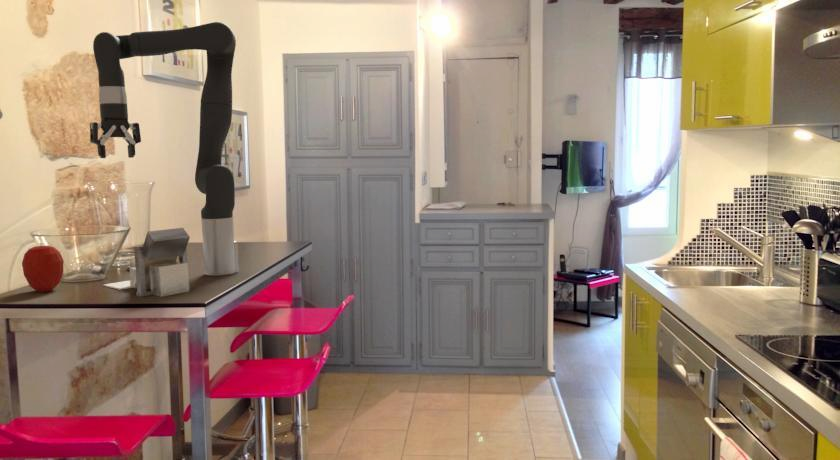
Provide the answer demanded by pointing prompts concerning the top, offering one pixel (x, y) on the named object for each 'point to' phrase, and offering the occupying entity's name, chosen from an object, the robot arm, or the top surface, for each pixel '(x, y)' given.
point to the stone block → (132, 276)
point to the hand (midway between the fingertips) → (117, 157)
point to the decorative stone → (132, 263)
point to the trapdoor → (162, 248)
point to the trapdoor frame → (162, 276)
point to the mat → (119, 285)
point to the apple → (43, 268)
